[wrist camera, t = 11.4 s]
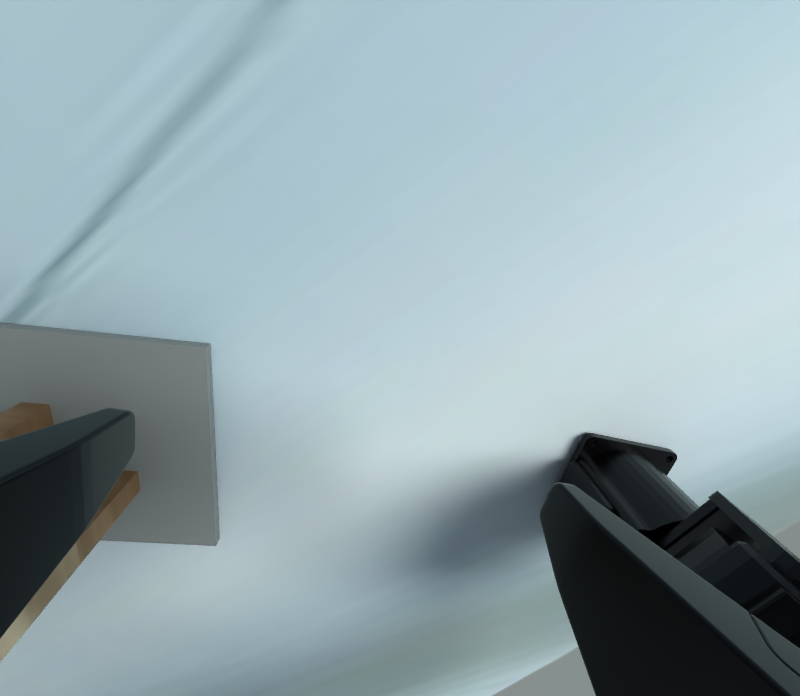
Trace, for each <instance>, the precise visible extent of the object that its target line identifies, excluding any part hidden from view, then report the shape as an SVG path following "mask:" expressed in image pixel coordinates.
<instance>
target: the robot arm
mask: <svg viewBox="0 0 800 696" xmlns="http://www.w3.org/2000/svg"><path fill="white" fill-rule="evenodd" d="M135 420H136V419H135V414H134V413H133V412H132V411H130V410H124V409H118V408H106V409H103V410H99V411H96V412H93V413H90V414H87V415H83V416H80V417H77V418H74V419H71V420H67V421H64V422H61V423H58V424H55V425H51V426H48V427H45V428H42V429H39V430H35V431H32V432H29V433H26V434H23V435H19V436H16V437H13V438H10V439H7V440H3V441H0V639H1V637H2V636H3V635H4V634H5V632H6V631H7V630H8V628H9V627H10V626H11V625H12V623H13V622H14V621H15V619H16V618H17V617H18V616H19V614H20V613H21V612H22V611H23V609H24V608H25V607H26V605H27V604H28V603H29V602H30V600H31V599H32V598H33V597H34V595H35V594H36V593H37V591H38V590H39V589H40V588H41V586H42V585H43V584H44V583H45V581H46V580H47V579H48V577H49V576H50V575H51V574H52V572H53V571H54V570H55V569H56V567H57V566H58V565H59V563H60V562H61V561H62V560H63V558H64V557H65V556H66V555H67V553H68V552H69V551H70V549H71V548H72V547H73V546H74V544H75V543H76V542H77V540H78V539H79V538H80V536H81V535H82V534H83V532H84V531H85V530H86V528H87V527H88V525H89V524H90V522H91V521H92V519H93V518H94V516H95V515H96V513H97V512H98V510H99V508H100V507H101V505H102V504H103V502H104V501H105V499H106V497H107V496H108V494H109V493H110V491H111V489H112V488H113V486H114V485H115V483H116V482H117V480H118V478H119V477H120V475H121V474H122V472H123V471H124V469H125V467H126V466H127V464H128V463H129V461H130V459H131V458H132V456H133V453H134V450H135ZM592 440H593V441H592ZM590 441H592V442H591V443H589V442H590ZM676 459H677V455H676V454H675V453H674V452H673V451H672V450H670V449H667V448H662V447H657V446H652V445H647V444H642V443H637V442H633V441H628V440H623V439H618V438H613V437H608V436H603V435H598V434H594V433H589V434H586V435H585V436H583V438H582V439H581V441H580V443H579V445H578V447H577V449H576V451H575V453H574V455H573V457H572V459H571V461H570V463H569V465H568V467H567V469H566V471H565V473H564V475H563V477H562V479H561V481H560V482H557V483H555V484H554V485H553V486H552V487H551V489H550V491H549V494H548V496H547V498H546V500H545V502H544V504H543V506H542V508H541V512H540V520H541V524H542V528H543V532H544V536H545V540H546V544H547V548H548V552H549V556H550V559H551V563H552V567H553V571H554V575H555V579H556V582H557V586H558V589H559V592H560V595H561V598H562V601H563V604H564V607H565V610H566V613H567V615H568V618H569V621H570V624H571V627H572V630H573V632H574V635H575V638H576V641H577V644H578V647H579V649H580V652H581V655H582V658H583V660H584V664H585V666H586V669H587V672H588V675H589V678H590V680H591V683H592V686H593V689H594V692H595V695H596V696H800V559H799V558H798V557H797V556H795V555H794V554H793V553H792V552H791V551H790V550H788V549H787V548H786V547H785V546H784V545H783V544H781V543H780V542H779V541H778V540H777V539H775V538H774V537H773V536H772V535H771V534H770V533H768V532H767V531H766V530H765V529H764V528H762V527H761V526H760V525H759V524H757V523H756V522H755V521H754V520H752V519H751V518H750V517H749V516H748V515H746V514H745V513H744V512H743V511H741V510H740V509H739V508H738V507H737V506H735V505H734V504H733V503H732V502H730V501H729V500H728V499H727V498H725V497H724V496H723V495H722V494H721V493H719V492H718V491H716V492H715V493H714V494H712V495H711V496H710V497H708V498H709V499H710V500H708V501H707V502H706V503H704V504H703V505H702V506H701V507H699V506H698V505H697V504H696V503H695V502H694V501H693V500H691V499H690V498H689V497H688V496H687V495H686V494H685V493H684V492H683V491H682V490H681V489H680V488H679V487H678V486H677V485H676V484H675V483H674V482H673V481H672V480H671V479H670V478H669V477H667V474H668V473H669V471H670V470H671V468H672V466H673V465H674V463H675V461H676Z"/></svg>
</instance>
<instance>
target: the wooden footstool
mask: <svg viewBox="0 0 800 696" xmlns="http://www.w3.org/2000/svg"><path fill="white" fill-rule="evenodd" d="M102 410H103V409H102ZM51 425H54V423H53V418H52V414H51V409H50V405H49V404H38V403H26V402H21V403H19V404H17V405H16V406H14V407H12V408H10V409H9V410H7V411H5V412H3V413H2V414H0V441H3V440H7V439H10V438H13V437H16V436H19V435H23V434H26V433H29V432H32V431H35V430H39V429H42V428H45V427H48V426H51ZM139 491H140V484H139V476H138V471H127V470H124V471H123V472H122V474H121V475H120V477H119V478H118V480H117V482H116V483H115V485H114V486H113V488H112V489H111V491H110V493H109V494H108V496H107V497H106V499H105V501H104V502H103V504H102V505H101V507H100V508H99V510H98V512H97V513H96V515H95V516H94V518H93V519H92V521H91V522H90V524H89V525H88V527H87V528H86V530H85V531H84V532H83V534H82V535H81V536H80V538H79V539H78V540H77V542H76V543H75V544H74V546H73V547H72V548H71V549H70V551H69V552H68V553H67V555H66V556H65V557H64V558H63V560H62V561H61V562H60V563H59V565H58V566H57V567H56V569H55V570H54V571H53V572H52V574H51V575H50V576H49V577H48V579H47V580H46V581H45V583H44V584H43V585H42V586H41V588H40V589H39V590H38V591H37V593H36V594H35V595H34V597H33V598H32V599H31V600H30V602H29V603H28V604H27V605H26V607H25V608H24V609H23V611H22V612H21V613H20V614H19V616H18V617H17V618H16V619H15V621H14V622H13V623H12V625H11V626H10V627H9V628H8V630H7V631H6V632H5V634H4V635H3V636H2V637H1V639H0V662H1V661H2V660H3V659H4V657H5V656H6V655H7V654H8V652H9V651H10V650H11V649H12V647H13V646H14V645H15V644H16V643H17V641H18V640H19V639H20V638H21V636H22V635H23V634H24V633H25V631H26V630H27V629H28V628H29V627H30V625H31V624H32V623H33V622H34V620H35V619H36V618H37V617H38V615H39V614H40V613H41V612H42V611H43V609H44V608H45V607H46V606H47V604H48V603H49V602H50V601H51V599H52V598H53V597H54V596H55V595H56V593H57V592H58V591H59V590H60V588H61V587H62V586H63V585H64V583H65V582H66V581H67V580H68V579H69V577H70V576H71V575H72V574H73V572H74V571H75V570H76V569H77V567H78V566H79V565H80V564H81V563H82V561H83V560H84V559H85V558H86V556H87V555H88V554H89V553H90V551H91V550H92V549H93V548H94V547H95V545H96V544H97V543H98V542H99V540H100V539H101V538H102V537H103V535H104V534H105V533H106V532H107V531H108V529H109V528H110V527H111V526H112V524H113V523H114V522H115V521H116V519H117V518H118V517H119V516H120V515H121V513H122V512H123V511H124V510H125V508H126V507H127V506H128V505H129V503H130V502H131V501H132V500H133V499H134V497H135V496H136V495H137V494H138V492H139Z"/></svg>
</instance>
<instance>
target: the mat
mask: <svg viewBox="0 0 800 696" xmlns="http://www.w3.org/2000/svg"><path fill="white" fill-rule="evenodd" d="M21 402H26V403H38V404H49V405H50V409H51V414H52V418H53V423H54V425H55V424H58V423H61V422H64V421H67V420H71V419H74V418H77V417H80V416H83V415H87V414H90V413H93V412H96V411H99V410H102V409H106V408H118V409H124V410H130V411H132V412H133V413H134V414H135V419H136V420H135V450H134V453H133V456H132V458H131V459H130V461H129V463H128V464H127V466H126V467H125V469H124V470H127V471H138V476H139V484H140V491H139V492H138V494H137V495H136V496H135V497H134V499H133V500H132V501H131V502H130V503H129V505H128V506H127V507H126V508H125V510H124V511H123V512H122V513H121V515H120V516H119V517H118V518H117V519H116V521H115V522H114V523H113V524H112V526H111V527H110V528H109V529H108V531H107V532H106V533H105V534H104V535H103V537H102V538H101V539H100V540H107V541H127V542H147V543H167V544H187V545H207V546H216V545H217V543H218V541H219V516H218V495H217V474H216V452H215V431H214V410H213V388H212V367H211V346H210V344H208V343H198V342H188V341H178V340H168V339H158V338H148V337H139V336H129V335H119V334H109V333H99V332H89V331H79V330H69V329H59V328H49V327H39V326H29V325H19V324H9V323H0V414H2V413H3V412H5V411H7V410H9V409H10V408H12V407H14V406H16V405H17V404H19V403H21Z"/></svg>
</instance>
